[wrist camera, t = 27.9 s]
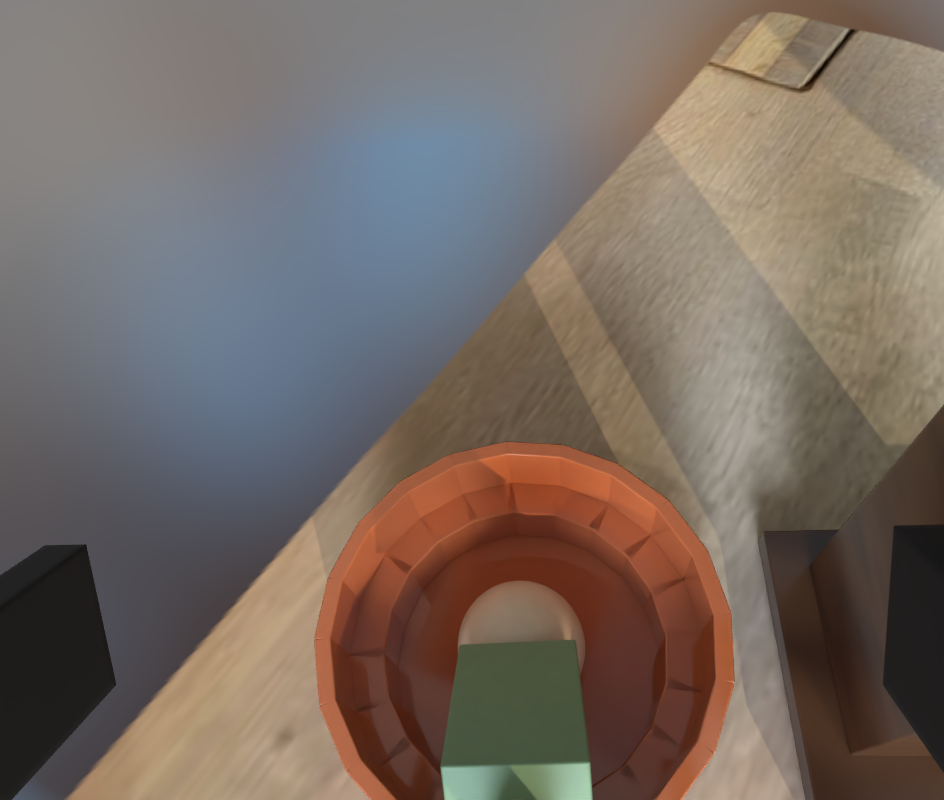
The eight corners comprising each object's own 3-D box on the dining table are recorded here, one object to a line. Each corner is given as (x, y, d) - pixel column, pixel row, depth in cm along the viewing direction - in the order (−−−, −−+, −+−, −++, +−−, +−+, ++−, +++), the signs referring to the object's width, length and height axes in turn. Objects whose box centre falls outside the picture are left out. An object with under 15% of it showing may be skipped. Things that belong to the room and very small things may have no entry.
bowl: (578, 449, 35) (578, 382, 30) (784, 732, 28) (830, 707, 23) (307, 602, 33) (258, 558, 28) (458, 951, 26) (429, 977, 21)
